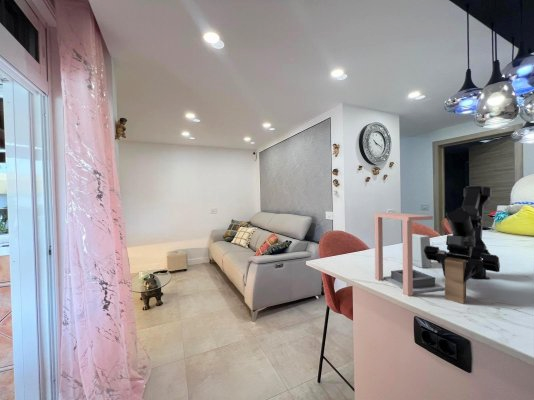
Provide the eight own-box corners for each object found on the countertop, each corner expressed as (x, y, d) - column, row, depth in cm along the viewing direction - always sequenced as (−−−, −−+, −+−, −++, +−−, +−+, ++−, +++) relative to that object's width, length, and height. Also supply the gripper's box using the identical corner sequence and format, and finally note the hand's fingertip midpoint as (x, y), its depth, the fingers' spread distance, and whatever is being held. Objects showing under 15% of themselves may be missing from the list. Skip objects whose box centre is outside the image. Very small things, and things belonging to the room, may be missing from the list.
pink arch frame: (395, 275, 91) (394, 212, 91) (433, 293, 74) (432, 216, 74) (374, 278, 89) (373, 213, 89) (409, 296, 72) (408, 217, 72)
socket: (411, 275, 91) (411, 266, 91) (445, 289, 77) (445, 279, 77) (383, 278, 88) (383, 269, 88) (412, 293, 75) (412, 283, 74)
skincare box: (431, 267, 101) (431, 236, 101) (421, 268, 100) (421, 236, 99) (415, 262, 109) (415, 233, 109) (405, 263, 108) (405, 233, 108)
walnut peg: (448, 294, 73) (448, 257, 73) (466, 299, 70) (466, 260, 70) (445, 298, 71) (444, 259, 70) (463, 304, 67) (462, 263, 67)
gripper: (425, 223, 80) (414, 258, 73) (498, 229, 65) (493, 274, 58) (432, 241, 85) (422, 276, 78) (501, 250, 70) (497, 294, 63)
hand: (454, 279), depth 69 cm, fingers closed on walnut peg, 4 cm apart
